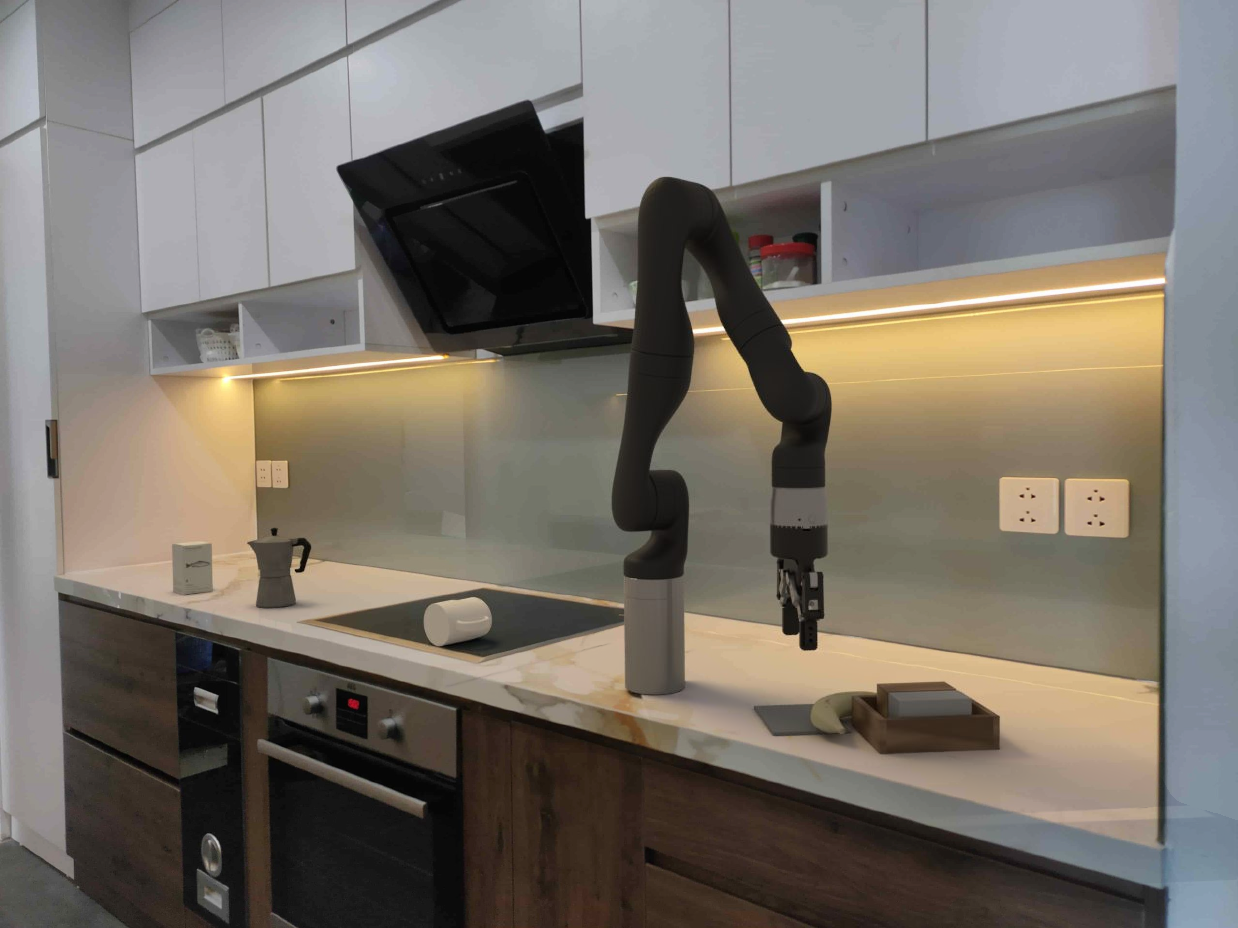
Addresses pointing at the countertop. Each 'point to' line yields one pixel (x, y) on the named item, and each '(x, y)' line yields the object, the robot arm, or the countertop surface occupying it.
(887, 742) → the wooden tray
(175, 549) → the supplement box
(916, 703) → the offcut grey
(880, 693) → the offcut teak
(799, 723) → the mat
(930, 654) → the countertop surface
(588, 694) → the countertop surface
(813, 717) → the fruit
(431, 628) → the mug
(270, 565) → the coffeepot
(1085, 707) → the countertop surface
